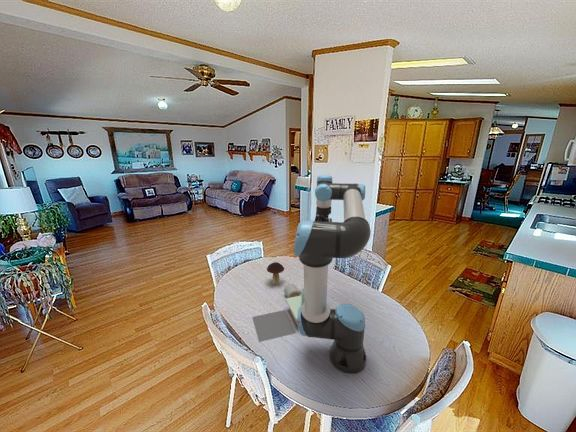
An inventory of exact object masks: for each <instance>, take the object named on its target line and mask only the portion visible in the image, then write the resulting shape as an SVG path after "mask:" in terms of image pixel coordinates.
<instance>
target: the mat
mask: <svg viewBox="0 0 576 432" xmlns="http://www.w3.org/2000/svg"><path fill="white" fill-rule="evenodd" d="M251 318H252V321H253V322H252V323H253V324H254V329H255V332H256V333H255V334H256V335H257V336H256V337H257V339H258V343H261V342H264V341H269V340H273V339H277V338H281V337H286V336H291V335H293V334H297V332H296V329H295V328H294V325H293V323H292V321H291V319H290V317H289V315H288V313H287V311H286V309H283V310H279V311H273V312H269V313H264V314H260V315H256V316H255V315H254V316H252V317H251Z"/></svg>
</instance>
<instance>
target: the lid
mask: <svg viewBox="0 0 576 432" xmlns="http://www.w3.org/2000/svg"><path fill="white" fill-rule="evenodd" d="M301 292H302V295H301V294H300V296H296V297H291V298H288V297H287V298H285V302H286V304H287V305H288V308H290V310H291V312H292V314H293V316H294V318H295V320H296V321H298V319H297V317H298V309H299V307H300V306H302V305H303V303H304V302H305V293H304V288H303V289H301Z"/></svg>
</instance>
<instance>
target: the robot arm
mask: <svg viewBox="0 0 576 432" xmlns="http://www.w3.org/2000/svg"><path fill="white" fill-rule="evenodd" d="M314 196H315V198H316V199H315V200H316V203H315V205H316V208H315V209H316V211H315V212H316V213H315V216H314V217H315V218H314V220H302V221H300V222H299V223H298V225H297V227H296V228H297V229H296V233H295V239H294V245H293V254H294V256H297V257H298V259H299V261H300V263H301V265H303V282H304V283H303V284H304V286H303V287H304V288H303V289H304V293H305V302H304V303H303V305H302V306H300V307H299V309H298V317H297V319H298V327H297V329H298V332H299V334H300V335H301V336H304V337H307V338H316V339H326V340H333V342H332V344H331V346H330V348H329V361H330V363H331V364H332V365H333V366H334V367H335V368H336V369H337V370H338V371H341V372H343V373H346V374H356V373H360V372H362V370H363V369H364V368H365V367H366V364H367V353H366V350H365V347H364V339H365V329H366V317H365V314H364V312H363V311H362V310H361V309H359V307H356V306H354V305H352V304H348V303H343V304H339V305H338V306H336V308H330V305H329V303H328V302H327V301H328V277H329V275H328V273H329V265H330V264H331V263H332V262H333V259H348V258H351V257H354V256H356V255H357V254H359V253H360V252H362V251H363V250H364V248H365V247H366V246H367V245H368V243H369V240H370V238H371V226H370V223H369V222H368V220H367V219H366V215H365V211H364V209H365V208H364V203H363V201H364V200H365V198H366V185H365V184H363V183H338V182H337V183H336V182H335V183H333V176H332V175H329V174H328V175H327V174H322V175H317V177H316V187H315V188H314ZM332 201H343V222H342V221H340V222H339V221H337V222H335V221H333V220H332V218H329V217H330V216H329V215H331V213H332Z"/></svg>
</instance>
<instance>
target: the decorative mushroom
mask: <svg viewBox="0 0 576 432" xmlns="http://www.w3.org/2000/svg"><path fill="white" fill-rule="evenodd" d="M266 271H267V273H270V274H272V283H273V285H274V286H275V285H279V283H280V274H281V273H283V272H284V271H285V267H284V265H282V264H281V263H280V262H278V261H277V262H275V261H274V262H272V263H270V264H269V265H268V266H267V267H266Z"/></svg>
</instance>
